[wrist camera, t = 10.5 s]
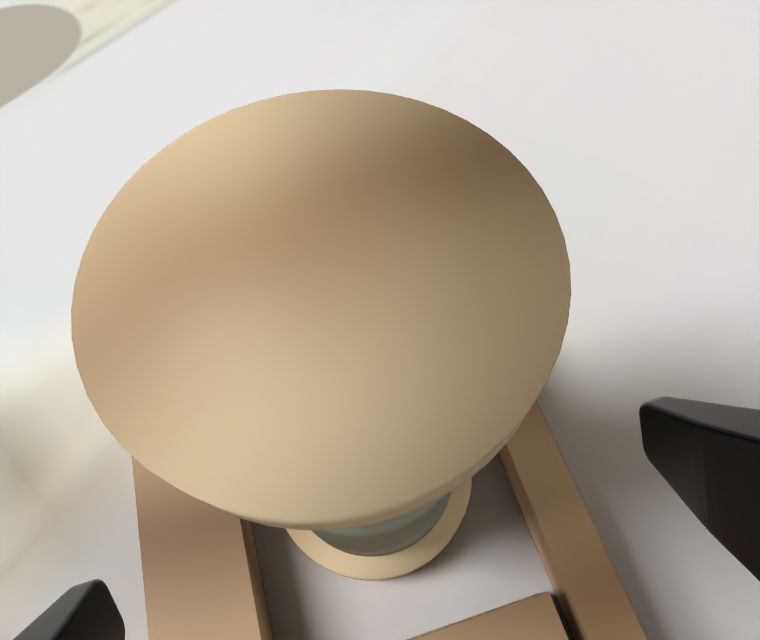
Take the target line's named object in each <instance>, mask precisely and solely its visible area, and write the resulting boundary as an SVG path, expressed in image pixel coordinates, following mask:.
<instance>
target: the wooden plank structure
mask: <svg viewBox="0 0 760 640" xmlns="http://www.w3.org/2000/svg"><path fill="white" fill-rule="evenodd" d="M498 454H499V457H500V459H501V462H502V464H503V467H504V469H505V472H506V474H507V476H508V479H509V481H510V484H511V486H512V489H513V491H514V494H515V496H516V498H517V501H518V503H519V506H520V508H521V511H522V513H523V516H524V518H525V520H526V523H527V525H528V528H529V530H530V533H531V535H532V538H533V540H534V542H535V545H536V547H537V550H538V552H539V555H540V557H541V560H542V562H543V564H544V567H545V569H546V572H547V574H548V577H549V579H550V582H551V584H552V586H553V589H554V591H555V594H556V596H557V599H558V601H559V604H560V606H561V608H562V611H563V613H564V616H565V618H566V621H567V623H568V625H569V628H570V630H571V633H572V635H573V638H574V640H647V638H646V636H645V634H644V631H643V629H642V627H641V625H640V623H639V621H638V619H637V616H636V614H635V612H634V610H633V608H632V606H631V603H630V601H629V599H628V597H627V595H626V593H625V590H624V588H623V586H622V584H621V582H620V580H619V578H618V575H617V573H616V571H615V569H614V567H613V565H612V562H611V560H610V558H609V556H608V554H607V552H606V549H605V547H604V545H603V543H602V541H601V539H600V537H599V534H598V532H597V530H596V528H595V526H594V524H593V521H592V519H591V517H590V515H589V513H588V511H587V508H586V506H585V504H584V502H583V500H582V498H581V496H580V493H579V491H578V489H577V487H576V485H575V483H574V480H573V478H572V476H571V474H570V472H569V470H568V467H567V465H566V463H565V461H564V459H563V457H562V455H561V452H560V450H559V448H558V446H557V444H556V442H555V439H554V437H553V435H552V433H551V431H550V429H549V426H548V424H547V422H546V420H545V418H544V416H543V414H542V411H541V409H540V407H539V405H538V403H537V401H536V400H535V402H534V403H533V405H532V407H531V408H530V410H529V412H528V413H527V415H526V416H525V418H524V419H523V421H522V422H521V424H520V425H519V427H518V429H517V430H516V432H515V433H514V435H513V436H512V437H511V438H510V440H509V441H508V442H507V443H506V444H505V445H504V446H503V448H502V449H501V450H500V451H499V452H498ZM132 463H133V474H134V484H135V495H136V506H137V516H138V527H139V537H140V548H141V559H142V569H143V580H144V591H145V601H146V612H147V623H148V633H149V640H273V636H272V631H271V625H270V620H269V614H268V609H267V604H266V598H265V593H264V588H263V582H262V577H261V571H260V566H259V561H258V555H257V550H256V544H255V539H254V534H253V528H252V523H251V521H248V520H244V519H241V518H237V517H235V516H233V515H230V514H228V513H226V512H223V511H221V510H219V509H217V508H214V507H212V506H210V505H207V504H206V503H204V502H202V501H200V500H198V499H196V498H194V497H193V496H191V495H189V494H187V493H185V492H183V491H181V490H179V489H178V488H176V487H174V486H173V485H171V484H170V483H168V482H167V481H165V480H163V479H162V478H160V477H159V476H157V475H156V474H154V473H152V472H151V471H149V470H148V469H147V468H146V467H144V466H143V465H142V464H141V463H140V462H139V461H138V460H137V459H135V458H134V457H133V456H132ZM408 640H568V637H567V635H566V632H565V630H564V627H563V625H562V622H561V620H560V618H559V615H558V613H557V610H556V608H555V605H554V603H553V600H552V598H551V595H550V593H549V592H545V593H538V594H535V595H532V596H529V597H527V598H524V599H521V600H518V601H515V602H512V603H510V604H507V605H504V606H501V607H498V608H495V609H493V610H490V611H487V612H484V613H481V614H478V615H476V616H473V617H470V618H467V619H464V620H461V621H459V622H456V623H453V624H450V625H447V626H444V627H442V628H439V629H436V630H433V631H430V632H427V633H425V634H422V635H419V636H416V637H413V638H410V639H408Z"/></svg>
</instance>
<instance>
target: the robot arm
mask: <svg viewBox="0 0 760 640" xmlns="http://www.w3.org/2000/svg"><path fill="white" fill-rule="evenodd" d="M639 416H640V424H641V432H642V441H643V447H644V451H645V453H646V456H647V457H648V459H649V460H650V462H651V463H652V464H653V466H654V467H655V468H656V469H657V470H658V471H659V473H660V474H661V475H662V476H663V477H664V479H665V480H666V481H667V482H668V483H669V485H670V486H671V487H672V488H673V489H674V491H675V492H676V493H677V494H678V495H679V497H680V498H681V499H682V500H683V501H684V503H685V504H686V505H687V506H688V507H689V508H690V510H691V511H692V512H693V513H694V514H695V516H696V517H697V518H698V519H699V520H700V521H701V523H702V524H703V525H704V526H705V527H706V528H707V529H708V530H709V532H710V533H711V534H712V535H713V536H714V537H715V538H716V539H717V540H718V541H719V542H720V543H721V544H722V545H723V546H724V547H725V548H726V549H727V550H728V551H729V552H730V553H731V554H732V555H733V556H734V557H735V558H737V559H738V560H739V561H740V562H741V563H742V564H743V565H744V566H745V567H746V568H747V569H748V570H749V571H750V572H751V573H752V574H753V575H754V576H755V577H756V578H757V579H758V580H759V581H760V410H756V409H749V408H742V407H735V406H728V405H721V404H714V403H707V402H700V401H693V400H686V399H678V398H671V397H660V398H657V399H654V400H651V401H648V402H645V403H643V404H642V405H641V406H640V409H639ZM13 640H125V627H124V622H123V619H122V617H121V615H120V612H119V610H118V608H117V606H116V604H115V602H114V600H113V598H112V596H111V594H110V592H109V590H108V587H107V586H106V584H105V583H104V582H103V581H102V580H99V579H95V580H92V581H89V582H86V583H82V584H79V585H76V586H74V587H72V588H70V589H69V590H68V591H67V592H66V593H64V594H63V595H62V596H61V597H60V598H59V599H58V600H57V601H56V602H54V603H53V604H52V605H51V606H50V607H49V608H48V609H47V610H46V611H44V612H43V613H42V614H41V615H40V616H39V617H38V618H37V619H36V620H34V621H33V622H32V623H31V624H30V625H29V626H28V627H27V628H25V629H24V630H23V631H22V632H21V633H20V634H19V635H18V636H17V637H15V638H14V639H13Z"/></svg>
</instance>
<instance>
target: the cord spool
mask: <svg viewBox="0 0 760 640" xmlns="http://www.w3.org/2000/svg"><path fill="white" fill-rule="evenodd" d="M570 299H571V279H570V263H569V258H568V254H567V249H566V244H565V239H564V236H563V233H562V230H561V228H560V225H559V222H558V220H557V217H556V214H555V212H554V210H553V208H552V206H551V205H550V203H549V201H548V199H547V197H546V195H545V194H544V192H543V190H542V188H541V187H540V186H539V184H538V183H537V182H536V180H535V179H534V178H533V176H532V175H531V174H530V172H529V171H528V170H527V168H526V167H525V166H524V165H523V164H522V163H521V162H520V161H519V160H518V159H517V158H516V157H515V156H514V155H513V154H512V153H511V152H510V151H509V150H508V149H507V148H505V147H504V146H503V145H502V144H500V143H499V142H498V141H497V140H495V139H494V138H493V137H492V136H490V135H489V134H488V133H486V132H484V131H483V130H481V129H480V128H478V127H476V126H475V125H473V124H472V123H470V122H468V121H467V120H465V119H463V118H460V117H458V116H456V115H454V114H452V113H450V112H448V111H446V110H444V109H441V108H438V107H435V106H432V105H430V104H427V103H424V102H421V101H418V100H414V99H410V98H406V97H402V96H397V95H393V94H386V93H379V92H372V91H362V90H319V91H308V92H301V93H293V94H287V95H282V96H278V97H274V98H269V99H265V100H261V101H258V102H255V103H251V104H248V105H245V106H242V107H239V108H236V109H234V110H231V111H229V112H227V113H224V114H222V115H220V116H217V117H215V118H213V119H210V120H209V121H207V122H205V123H203V124H201V125H200V126H198V127H196V128H194V129H192V130H190V131H189V132H187V133H185V134H184V135H182V136H181V137H179V138H178V139H176V140H175V141H173V142H172V143H171V144H169V145H168V146H166V147H165V148H163V149H162V150H161V151H160V152H159V153H157V154H156V155H155V156H154V157H153V158H151V159H150V160H149V161H148V162H147V163H145V164H144V165H143V166H142V167H141V168H140V169H139V170H138V171H137V172H136V173H135V174H134V175H133V177H132V178H131V179H130V180H129V181H128V182H127V183H126V184H125V185H124V186H123V187H122V189H121V190H120V191H119V193H118V194H117V195H116V196H115V198H114V199H113V200H112V202H111V203H110V204H109V206H108V207H107V209H106V210H105V212H104V214H103V215H102V217H101V219H100V220H99V222H98V224H97V225H96V227H95V229H94V230H93V233H92V235H91V237H90V240H89V242H88V244H87V246H86V249H85V251H84V253H83V256H82V259H81V263H80V266H79V270H78V273H77V277H76V280H75V286H74V293H73V301H72V309H71V319H72V342H73V347H74V353H75V358H76V364H77V368H78V371H79V374H80V376H81V379H82V382H83V385H84V387H85V390H86V393H87V396H88V397H89V399H90V401H91V403H92V404H93V406H94V408H95V410H96V412H97V413H98V415H99V417H100V419H101V420H102V422H103V423H104V425H105V426H106V427H107V428H108V430H109V431H110V432H111V433H112V435H113V436H114V437H115V438H116V440H117V441H118V442H119V443H120V444H121V446H122V447H123V448H124V449H125V450H126V451H128V452H129V453H130V454H131V455H132V456H133V457H134V458H135V459H137V460H138V461H139V462H140V463H141V464H142V465H143V466H144V467H146V468H147V469H148V470H149V471H151V472H152V473H154V474H156V475H157V476H159V477H160V478H162V479H163V480H165V481H167V482H168V483H170V484H171V485H173V486H174V487H176V488H178V489H179V490H181V491H183V492H185V493H187V494H189V495H191V496H193V497H194V498H196V499H198V500H200V501H202V502H204V503H206V504H207V505H210V506H212V507H214V508H217V509H219V510H221V511H223V512H226V513H228V514H230V515H233V516H235V517H237V518H241V519H244V520H248V521H252V522H255V523H259V524H263V525H267V526H271V527H279V528H285V529H286V530H287V532H288V533H289V535H290V536H291V538H292V539H293V541H294V542H295V543H296V544H297V545H298V547H299V548H300V549H301V550H302V551H303V552H304V553H305V554H307V555H308V556H309V557H310V558H311V559H313V560H314V561H315V562H317V563H319V564H320V565H322V566H323V567H325V568H327V569H329V570H331V571H333V572H335V573H338V574H340V575H343V576H346V577H350V578H354V579H360V580H385V579H391V578H396V577H399V576H402V575H406V574H408V573H410V572H412V571H414V570H417V569H419V568H420V567H422V566H423V565H425V564H426V563H428V562H429V561H431V560H432V559H433V558H434V557H435V556H436V555H438V554H439V553H440V552H441V551H442V550H443V548H444V547H445V546H446V545H447V544H448V543H449V541H450V540H451V538H452V537H453V535H454V534H455V532H456V531H457V529H458V527H459V526H460V523H461V521H462V519H463V517H464V515H465V512H466V509H467V506H468V503H469V499H470V494H471V488H472V476H474V475H475V474H476V473H477V472H478V471H479V470H481V469H482V468H483V467H484V466H485V465H486V464H488V463H489V462H490V461H491V460H492V459H493V458H494V457H495V456H496V454H497V453H498V452H499V451H500V450H501V449H502V448H503V446H504V445H505V444H506V443H507V442H508V441H509V440H510V438H511V437H512V436H513V435H514V433H515V432H516V430H517V429H518V427H519V425H520V424H521V422H522V421H523V419H524V418H525V416H526V415H527V413H528V412H529V410H530V408H531V407H532V405H533V403H534V402H535V400H536V398H537V397H538V395H539V393H540V392H541V390H542V388H543V387H544V385H545V383H546V382H547V380H548V377H549V375H550V373H551V371H552V368H553V366H554V364H555V362H556V360H557V357H558V355H559V353H560V349H561V346H562V342H563V339H564V335H565V331H566V328H567V324H568V317H569V308H570Z"/></svg>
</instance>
